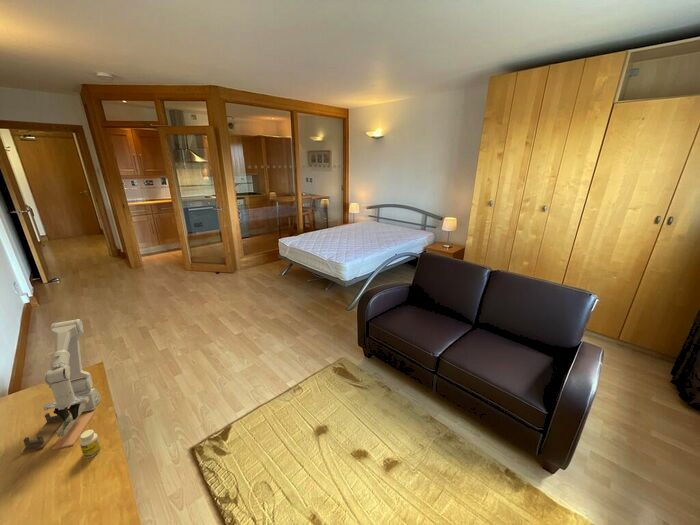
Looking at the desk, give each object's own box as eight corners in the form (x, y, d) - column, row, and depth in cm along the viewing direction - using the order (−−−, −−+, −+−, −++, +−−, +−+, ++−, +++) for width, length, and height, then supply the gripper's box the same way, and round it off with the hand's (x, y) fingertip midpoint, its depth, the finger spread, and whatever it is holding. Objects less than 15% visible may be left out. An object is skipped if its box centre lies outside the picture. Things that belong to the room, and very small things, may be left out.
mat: (95, 412, 134) (94, 411, 134) (73, 445, 118) (73, 444, 118) (76, 416, 132) (76, 415, 132) (52, 450, 116) (51, 448, 116)
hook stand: (50, 420, 129) (47, 411, 128) (66, 417, 131) (63, 408, 130) (23, 453, 114) (19, 443, 113) (42, 449, 116) (38, 439, 114)
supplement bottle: (81, 460, 112) (75, 441, 109) (86, 449, 116) (80, 430, 114) (99, 455, 114) (93, 436, 112) (102, 444, 119) (97, 425, 116)
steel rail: (79, 408, 131) (78, 404, 130) (85, 407, 131) (84, 402, 131) (57, 437, 116) (56, 432, 115) (64, 435, 117) (63, 431, 116)
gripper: (34, 403, 114) (44, 430, 117) (79, 396, 118) (87, 421, 122) (46, 391, 120) (55, 417, 124) (88, 384, 124) (95, 409, 128)
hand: (71, 418), depth 123 cm, fingers closed on steel rail, 2 cm apart
